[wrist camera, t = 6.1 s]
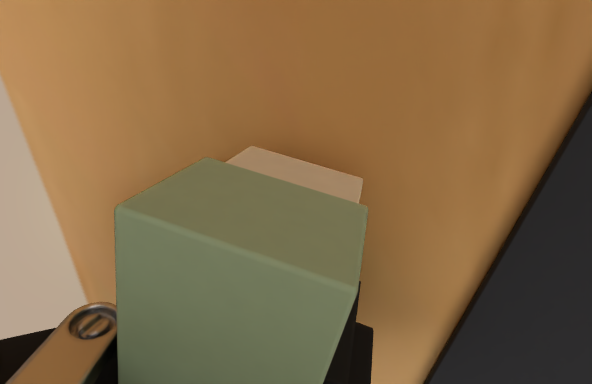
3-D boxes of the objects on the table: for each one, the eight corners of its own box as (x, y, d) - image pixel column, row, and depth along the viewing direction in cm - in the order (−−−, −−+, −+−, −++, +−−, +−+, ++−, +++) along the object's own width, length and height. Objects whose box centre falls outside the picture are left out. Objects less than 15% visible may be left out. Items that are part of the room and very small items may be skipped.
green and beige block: (246, 133, 10) (111, 205, 5) (374, 170, 10) (359, 291, 5) (212, 354, 14) (119, 511, 9) (299, 389, 14) (249, 576, 9)
